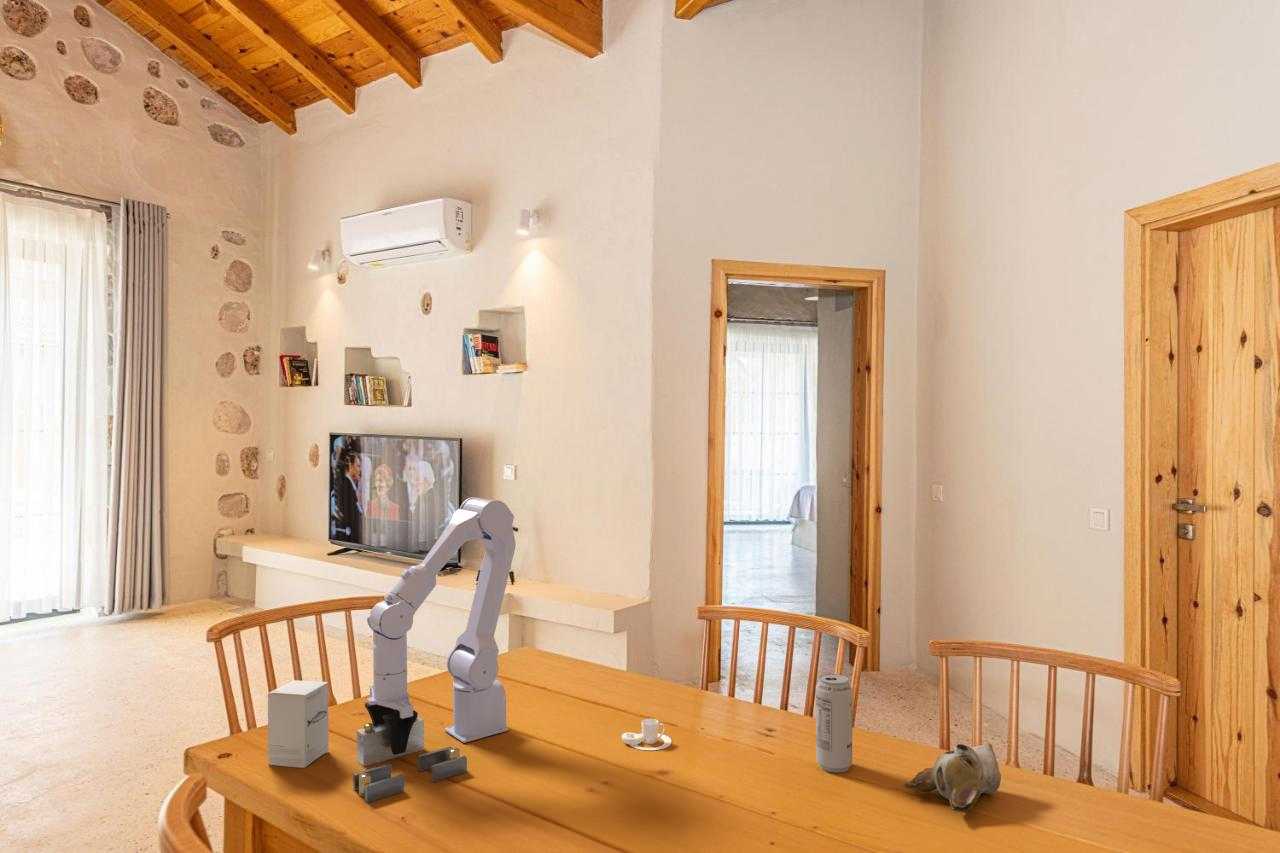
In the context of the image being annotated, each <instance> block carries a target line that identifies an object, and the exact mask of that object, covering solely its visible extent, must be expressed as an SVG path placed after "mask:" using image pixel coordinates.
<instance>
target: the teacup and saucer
mask: <svg viewBox="0 0 1280 853" xmlns="http://www.w3.org/2000/svg"><path fill="white" fill-rule="evenodd" d="M640 723H641V733H636V732H635V733H634V732H629V731H628V732H624V733H623V734H622V735H621V741H622V742H623V743H625V744H627V745H629V746H630V747H632V748H633V749H636V750H641V751H660V750H664V749H666V748H668V747H670V746H671V745H672V743H673V742H672V739H671V737H669V736H668V735H665V734H664V732H665V729H666V727H665V726H666V725H665V724H664V723H659V720H658V719H656V718H644V719H642V720H641V722H640ZM660 726H662V727H663V730H662V732H661V733H659V727H660ZM659 739H662V741H664V743H663V744H662V745H660V746H657V747H643V746H640V744H641V742H642V740H643V742H644V743H645V744H646V745H653V744H656V742H657V741H658V740H659Z"/></svg>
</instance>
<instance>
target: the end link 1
mask: <svg viewBox="0 0 1280 853" xmlns="http://www.w3.org/2000/svg"><path fill="white" fill-rule="evenodd" d="M352 780H353V781H352V786H353V788H352V789H353V791H354V792H356V791H358V796H359V797H361V798H364V800H365V802H366V803H367V804H369V803H372V802H375V801H377V800H381V799H384V798H387V797H390V796H394V795H397V794H401V793H403V792H405V775H404V774H402V773H401V774H399V775H395V776H392V764H391V763H386V764H383V765H380V766H376V767H372V768H368V769H365V770H362V771H358V772H355V773H352Z"/></svg>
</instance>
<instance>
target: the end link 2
mask: <svg viewBox="0 0 1280 853" xmlns="http://www.w3.org/2000/svg"><path fill="white" fill-rule="evenodd" d="M460 750H461V749H460V748H459V747H453V746H451V745H450V746H447V747H443V748H439V749H436V750H432V751H430V752H429V751H428V752H425V753H422V754H419V755H417V771H418V772H420V773H422V772H424V771H428V770H430V772H431V782H432V783H436V782H440V781H443V780H446V779H448V778H449V779H450V778H452V777H456V776H458V775H462V774H465V773H468V757H467V756H466V755H463V756H461V754H460V753H461V751H460Z"/></svg>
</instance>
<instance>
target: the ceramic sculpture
mask: <svg viewBox="0 0 1280 853" xmlns="http://www.w3.org/2000/svg"><path fill="white" fill-rule="evenodd" d="M1001 779H1002V774H1001V772H1000V767H999V764H998V760H997V757H996V753H995V751H994V748H993V745H992V743H991V742H987V743H985V744H981V745H977V746H976V745H975V746H973V747H970V746H968V745H965V744H963V743H959V744H957V745H956V746H954V748H953V749H952V750H950V751H946V752H945V751H944V752H943V753H942V754H940V755H938V756H937V758H936V759H935V761H934V763H933V765H932V768H931V767H928V768H927V767H926V768H924V770H922V771H920V772H918V773H917V774H916V775H915V777H913V778H912V779H911V781H910V782H905V783H903V784H902V785H903V787H904V788H907V789H909V790H911V791H915V792H919V793H924V794H925V793H926V794H927V793H931V792H933V791H936V790H937V792H938V794H939V795H941V796H942V797H943V798H944V799H946V800H948V801H949V802H948V803H949V805H950V806H951V810H952V811H954V812H967V811H970V810H971V809H973V808H974V806H975V805H976V804H977V802H978V800H979V798H980V797H981V795H982V794H983V793H984V794H987V795H993V794H995V793H996V792H997V791H998V789H999V788H1000V786H1001V781H1002V780H1001Z"/></svg>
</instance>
